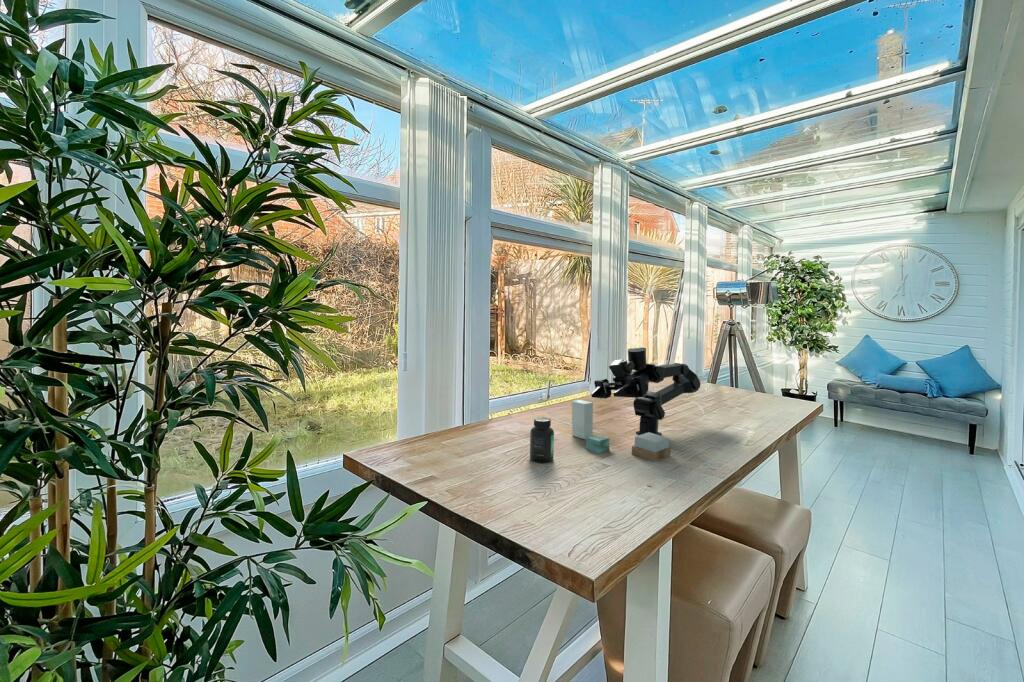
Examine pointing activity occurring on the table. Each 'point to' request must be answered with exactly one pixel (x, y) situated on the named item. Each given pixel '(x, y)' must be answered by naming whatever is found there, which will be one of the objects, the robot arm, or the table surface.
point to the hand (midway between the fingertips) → (602, 395)
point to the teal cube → (597, 443)
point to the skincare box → (582, 419)
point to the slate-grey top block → (651, 442)
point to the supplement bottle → (542, 441)
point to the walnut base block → (651, 453)
